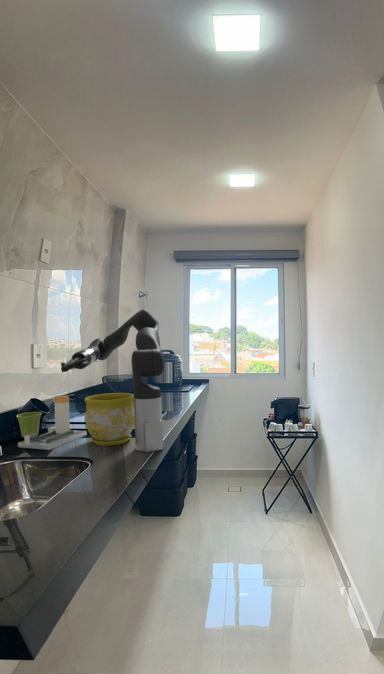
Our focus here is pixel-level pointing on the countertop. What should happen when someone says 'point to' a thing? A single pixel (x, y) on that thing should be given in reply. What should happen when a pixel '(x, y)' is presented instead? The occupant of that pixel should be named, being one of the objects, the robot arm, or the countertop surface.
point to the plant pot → (29, 422)
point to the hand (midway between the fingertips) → (63, 369)
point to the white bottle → (62, 414)
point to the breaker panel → (50, 439)
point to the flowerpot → (110, 418)
